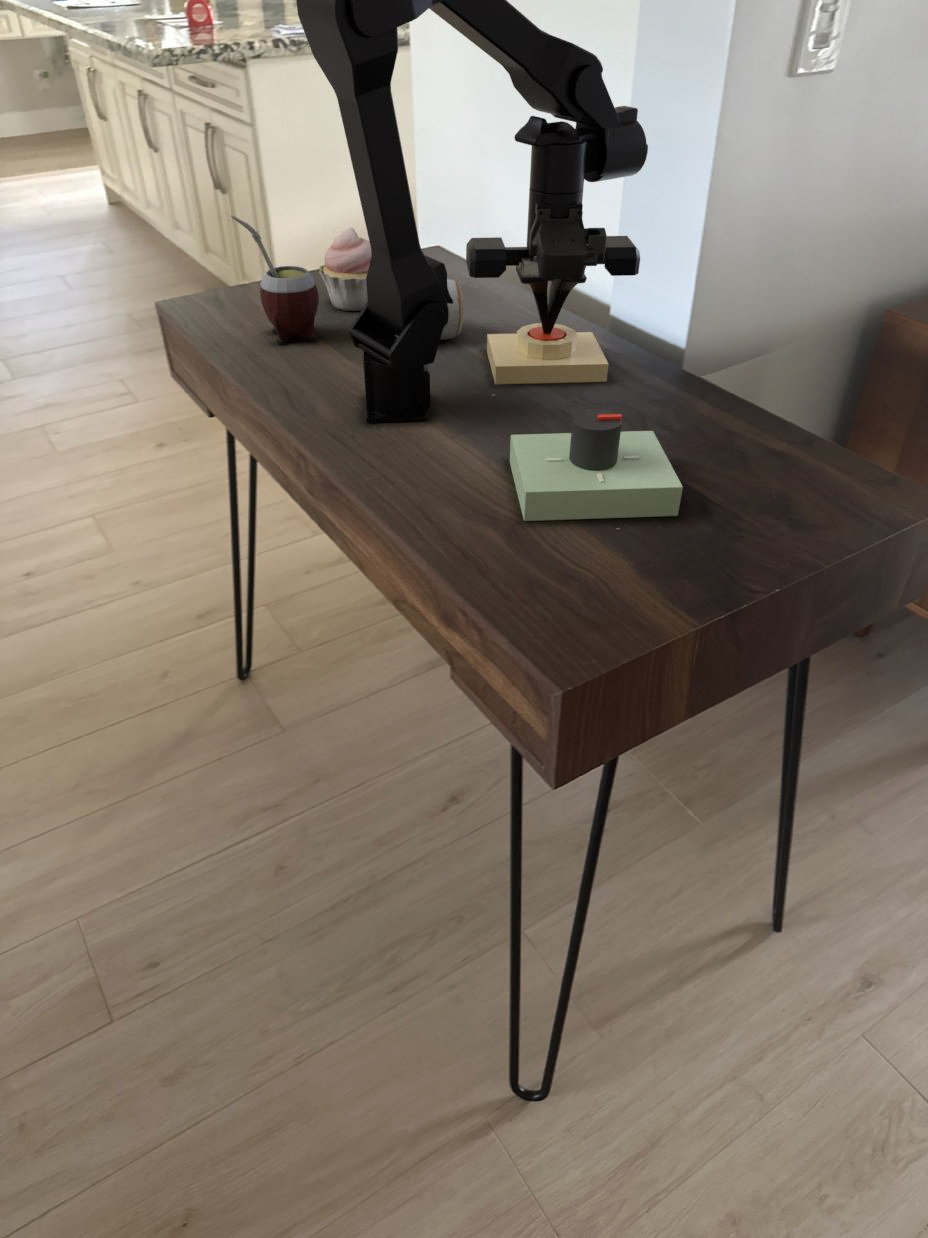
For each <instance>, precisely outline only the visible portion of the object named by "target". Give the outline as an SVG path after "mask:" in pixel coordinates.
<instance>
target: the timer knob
mask: <svg viewBox="0 0 928 1238" xmlns="http://www.w3.org/2000/svg"><path fill="white" fill-rule="evenodd" d="M571 422H572V423H571V432H570V433H571V443H570V454H569V459H570V461H571V462H572V463H573V464H574V465H576V466H578V467H580V468H583V469H587V470H605V469H608V468H611V467H613V466H614V465H615V464H616V462H617V458H618V450H619V442H620V434H621V432H622V425H623V416H622V414H621V413H615V412H614V411H611V410H607V409H603V408H585V409H582V410H578V411H576V412H575V413H574V414H573V416H572V421H571Z"/></svg>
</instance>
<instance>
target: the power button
mask: <svg viewBox="0 0 928 1238" xmlns="http://www.w3.org/2000/svg"><path fill="white" fill-rule="evenodd" d="M530 337H531V338H533V339H537V340H542V341H557V340H560V339H564V332H563V331H562V330H561V329H558V328H555V327H553V329H552V332H551V333H550V334H548V333H547V334H544V332H543V329H542V327H537V328H534V329H532V330H531V331H530Z"/></svg>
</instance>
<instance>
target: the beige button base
mask: <svg viewBox="0 0 928 1238" xmlns="http://www.w3.org/2000/svg"><path fill="white" fill-rule="evenodd" d="M537 327H542V325H541V322H539V323H538V322H537V323H535V322H534V323H531V324H526V325H523V326H521V327H520V328H519V329H518V330H516V333H487V334H486V353H487V357H488V361H489V365H490V366H489V367H490V369H491V373H492V378H493V381H494V385H520V384H521V385H522V384H523V385H525V384H526V385H527V384H562V383H564V384H565V383H607V382H608V373H609V361H608V360H607V358H606V356H605V354H604V352H603V350H602V348H601V347H600V344H599V343H598V341H597V339H596V336H595V334H594V333H593V331H578V332H577V331H576V330H575V329H573V328H571V327H569V326H566V325H564V324H560V323H555V325H554V327H555V328H558V329H561V330H562V331H563V332H564V339H560V340H557V341H542V340H537V339H533V338H531V337H530V331H531V330H532V329H534V328H537Z"/></svg>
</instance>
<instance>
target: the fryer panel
mask: <svg viewBox="0 0 928 1238" xmlns="http://www.w3.org/2000/svg"><path fill="white" fill-rule="evenodd" d="M509 442H510V444H509V445H510V447H509V465H510V470H511V473H512V474H511V475H512V478H513V481H514V486H515V490H516V494H517V498H518V502H519V507H520V510H521V514H522V519H523V521H524V522H537V521H538V522H539V521H567V520H595V519H596V520H597V519H599V520H600V519H624V518H653V517H654V518H656V517H678V516H679V511H680V505H681V500H682V494H683V489H684V486H683V484H682V483H681V481H680V479H679V477H678V475H677V473H676V472H675V469H674V467H673V466H672V464H671V462H670V460H669V458H668V456H667V454H666V453H665V451H664V449H663V447H662V445H661V443H660V441H659V440H658V437H657V435H656V434H655V431H654V430H633V431H632V430H631V431H630V430H629V431H621V434H620V442H619V450H618V458H617V462H616V464H615V465H614V466H613V467H611V468H608V469H605V470H587V469H583V468H580V467H578V466H576V465H574V464H573V463H572V462H571V461H570V459H569V454H570V443H571V432H562V433H561V432H560V433H557V432H556V433H526V434H525V433H523V434H522V433H521V434H510V441H509Z"/></svg>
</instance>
